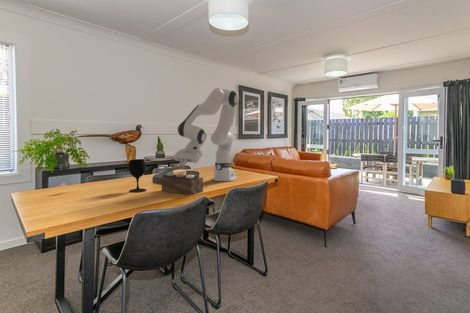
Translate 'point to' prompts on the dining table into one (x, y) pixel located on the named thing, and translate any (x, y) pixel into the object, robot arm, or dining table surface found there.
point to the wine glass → (137, 172)
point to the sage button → (170, 174)
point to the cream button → (190, 176)
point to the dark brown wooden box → (182, 184)
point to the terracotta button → (179, 175)
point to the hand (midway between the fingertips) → (180, 165)
